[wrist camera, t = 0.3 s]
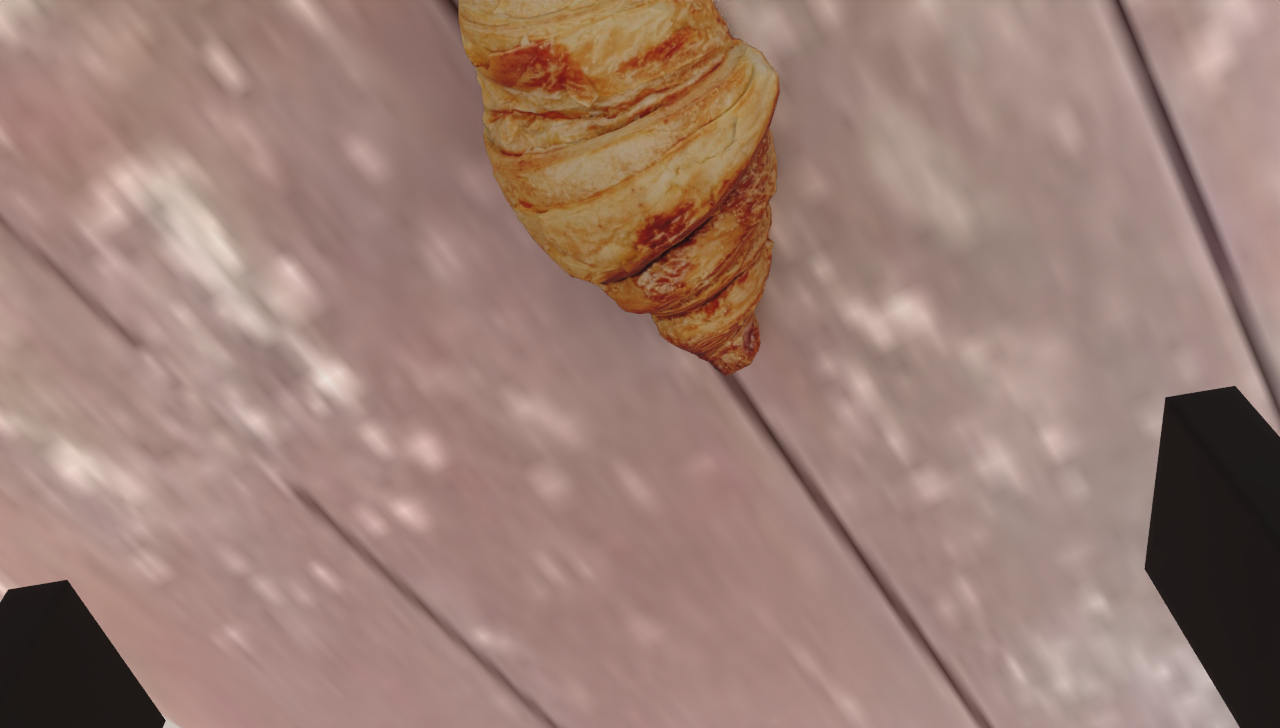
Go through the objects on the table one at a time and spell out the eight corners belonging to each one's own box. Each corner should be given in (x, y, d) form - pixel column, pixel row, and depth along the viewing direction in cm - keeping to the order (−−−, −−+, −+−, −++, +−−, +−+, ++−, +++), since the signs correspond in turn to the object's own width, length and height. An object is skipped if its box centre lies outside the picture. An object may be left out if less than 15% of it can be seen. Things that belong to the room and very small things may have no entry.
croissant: (425, -161, 36) (279, -74, 31) (664, -288, 30) (533, -206, 25) (675, 319, 47) (596, 444, 42) (889, 294, 41) (829, 436, 36)
